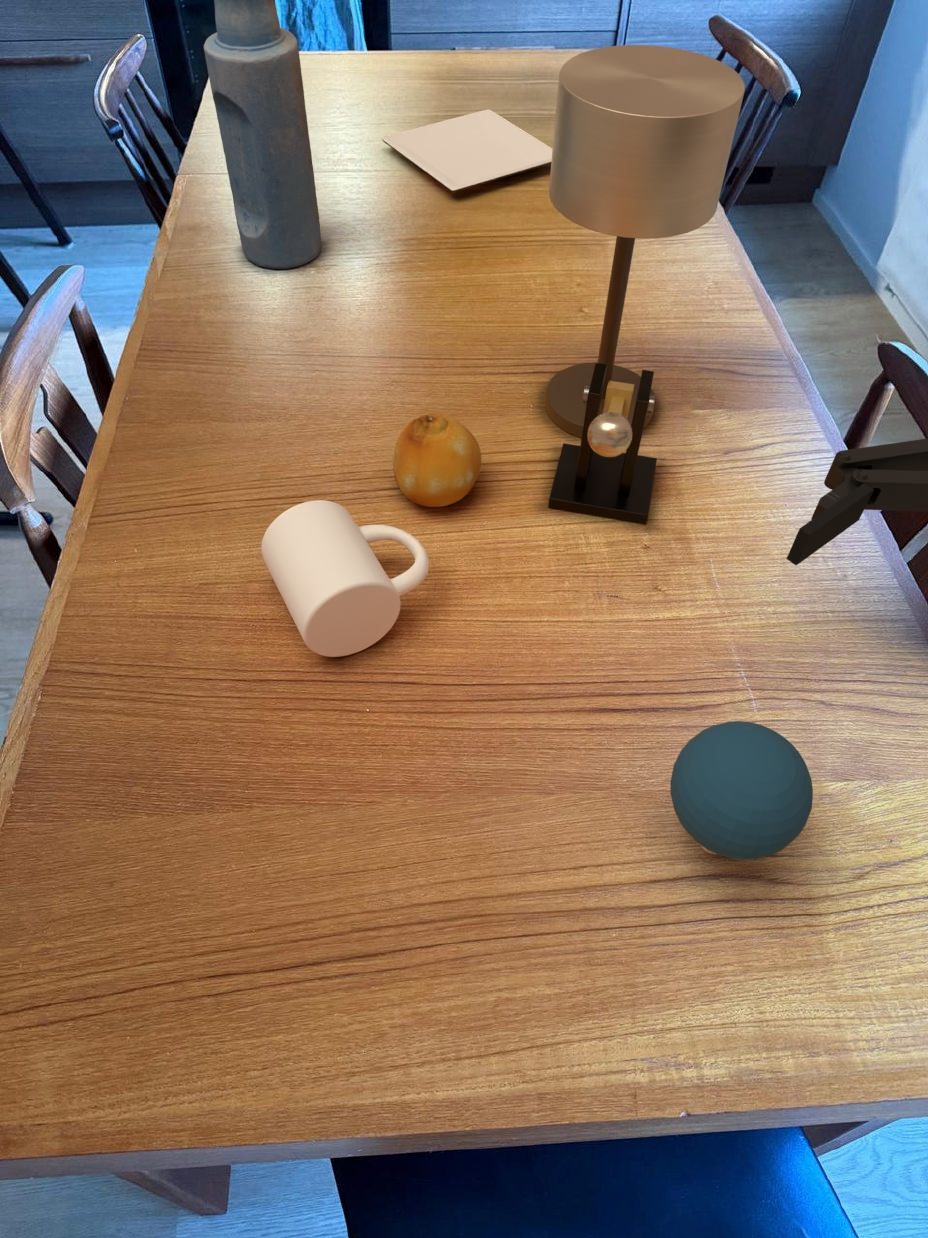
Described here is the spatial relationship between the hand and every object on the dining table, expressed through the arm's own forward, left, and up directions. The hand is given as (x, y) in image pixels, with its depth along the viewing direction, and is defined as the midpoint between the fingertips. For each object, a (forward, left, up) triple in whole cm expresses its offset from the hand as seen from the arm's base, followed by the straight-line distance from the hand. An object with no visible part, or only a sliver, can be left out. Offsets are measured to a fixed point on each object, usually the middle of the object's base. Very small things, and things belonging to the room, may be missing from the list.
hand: (892, 615), depth 52 cm
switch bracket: (+26, +18, -17) cm, 36 cm away
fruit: (+22, +33, -18) cm, 44 cm away
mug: (+7, +36, -18) cm, 41 cm away
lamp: (+38, +20, -17) cm, 47 cm away
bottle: (+59, +62, -18) cm, 88 cm away
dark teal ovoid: (-8, +6, -18) cm, 20 cm away
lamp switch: (+20, +18, -6) cm, 27 cm away
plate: (+89, +45, -18) cm, 102 cm away
